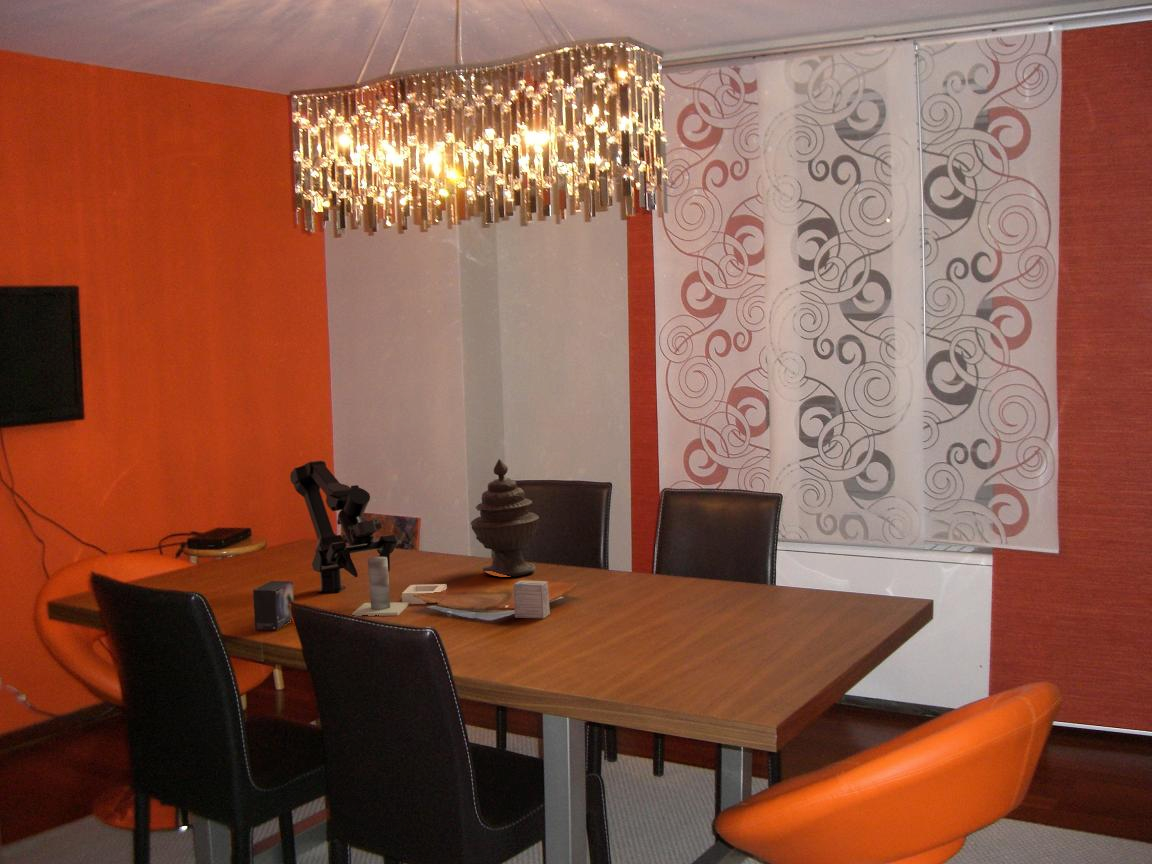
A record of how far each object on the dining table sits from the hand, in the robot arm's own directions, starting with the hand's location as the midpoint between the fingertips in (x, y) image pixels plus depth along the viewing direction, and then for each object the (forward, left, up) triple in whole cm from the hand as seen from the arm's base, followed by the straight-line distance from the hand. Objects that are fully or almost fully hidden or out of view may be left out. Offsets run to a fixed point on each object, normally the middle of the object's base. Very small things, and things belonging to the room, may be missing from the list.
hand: (372, 573), depth 300 cm
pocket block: (-9, +11, -9) cm, 17 cm away
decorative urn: (-40, +29, -9) cm, 50 cm away
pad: (+3, +2, -9) cm, 10 cm away
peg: (+3, +2, -8) cm, 9 cm away
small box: (+16, -21, -10) cm, 28 cm away
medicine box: (+11, +44, -10) cm, 46 cm away
